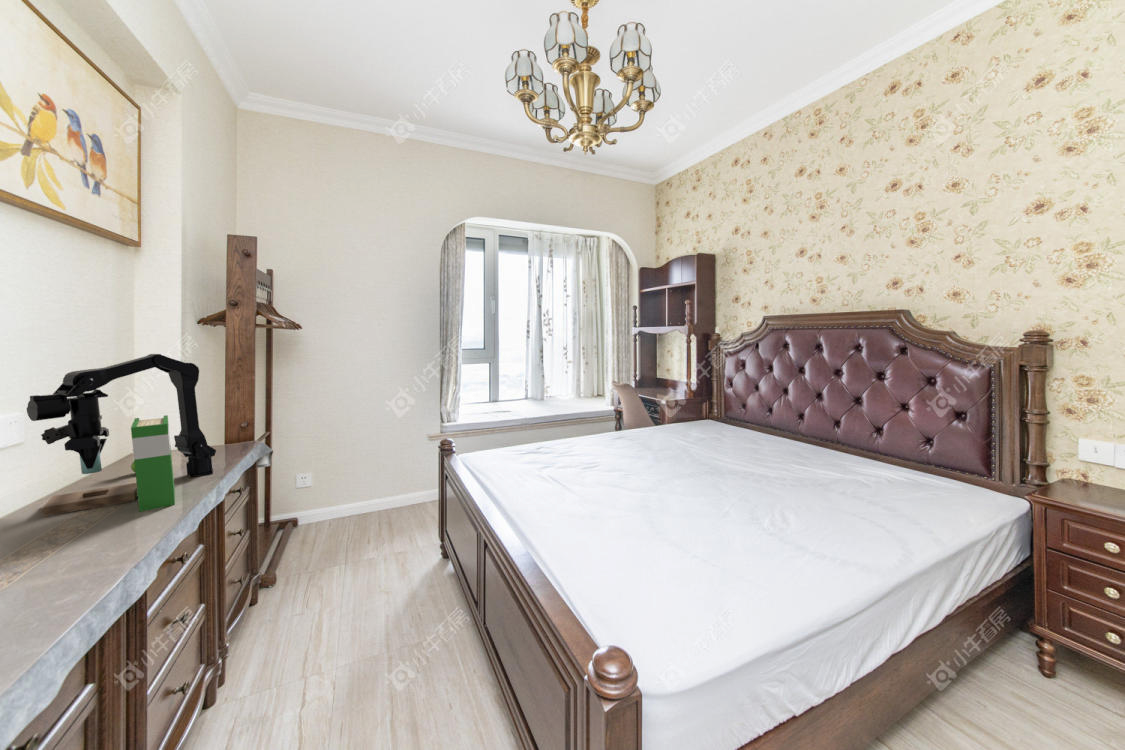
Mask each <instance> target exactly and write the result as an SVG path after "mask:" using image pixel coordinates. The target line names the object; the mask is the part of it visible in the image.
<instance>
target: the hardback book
mask: <svg viewBox="0 0 1125 750" xmlns="http://www.w3.org/2000/svg"><path fill="white" fill-rule="evenodd" d="M130 432H131V441H132V452H133V462H134V463H135V472H134V473H135V481H136V482H135V483H137V492H138V495H137V499H138V510H139V513H140V512H141V513H142V512H145V511H150V510H157V509H161V508H166V507H172V506H175V505H176V500H175V499H176V491H175V480H174V469H173V458H172V448H171V437H170V425H169V416H168V414H167V415H163V417H160V418H150V419H142V420H141V419H140V418H139V417H135V418H134V419H133V422H132V425H131V427H130Z"/></svg>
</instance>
